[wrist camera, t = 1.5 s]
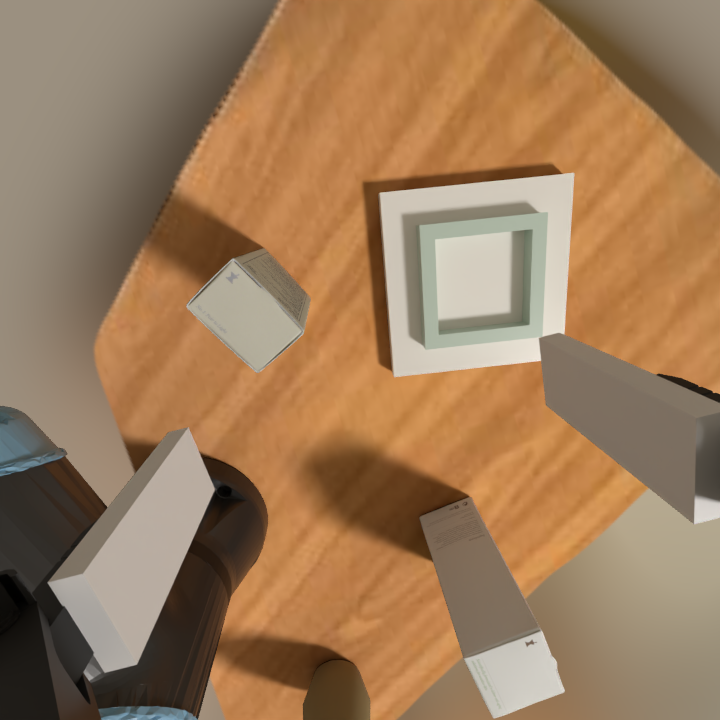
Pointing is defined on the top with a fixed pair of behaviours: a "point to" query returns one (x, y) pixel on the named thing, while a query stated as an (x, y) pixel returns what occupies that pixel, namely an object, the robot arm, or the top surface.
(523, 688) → the skincare box
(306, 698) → the squeeze bottle
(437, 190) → the collar plate
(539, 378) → the top surface
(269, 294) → the skincare box
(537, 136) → the top surface
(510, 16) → the top surface
